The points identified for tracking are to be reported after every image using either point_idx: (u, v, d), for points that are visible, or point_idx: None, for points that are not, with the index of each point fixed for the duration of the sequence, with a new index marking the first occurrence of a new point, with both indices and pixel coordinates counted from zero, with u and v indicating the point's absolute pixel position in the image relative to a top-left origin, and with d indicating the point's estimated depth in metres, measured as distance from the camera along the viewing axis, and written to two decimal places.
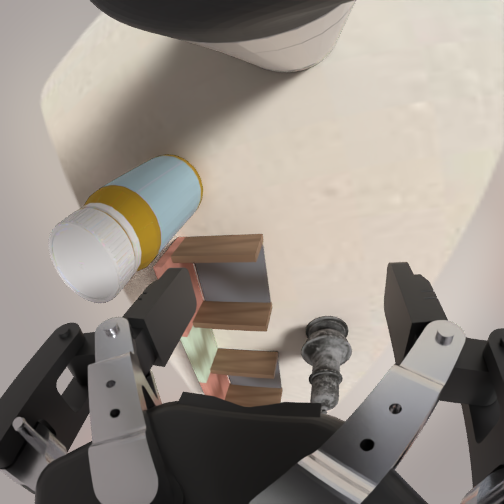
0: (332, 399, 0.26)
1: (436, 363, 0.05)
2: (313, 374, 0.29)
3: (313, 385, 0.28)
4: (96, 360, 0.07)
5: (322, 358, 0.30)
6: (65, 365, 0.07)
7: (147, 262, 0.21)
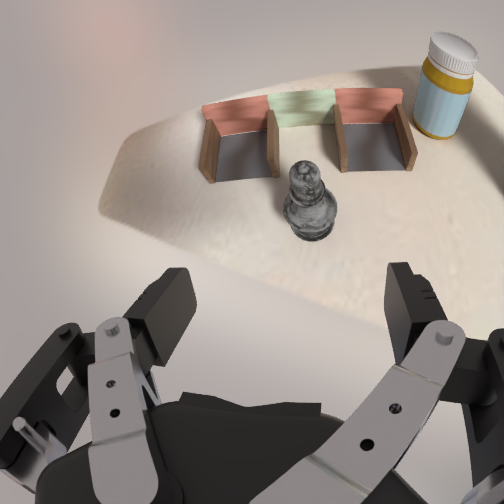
0: (315, 178, 0.25)
1: (436, 363, 0.05)
2: None
3: None
4: (96, 359, 0.07)
5: None
6: (65, 365, 0.07)
7: (440, 79, 0.25)
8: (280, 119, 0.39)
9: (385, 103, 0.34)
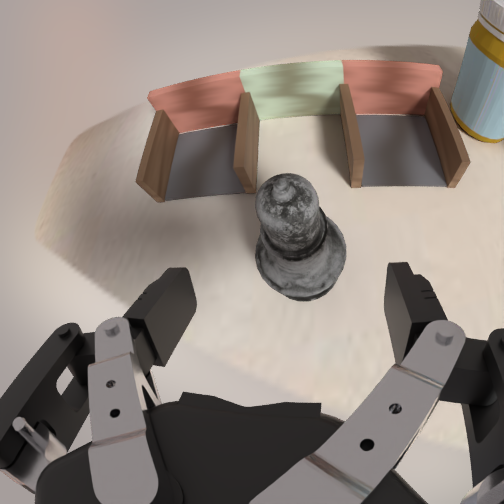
0: (308, 213, 0.12)
1: (436, 363, 0.05)
2: None
3: None
4: (96, 359, 0.07)
5: None
6: (65, 365, 0.07)
7: (500, 52, 0.12)
8: (261, 107, 0.26)
9: (416, 86, 0.21)
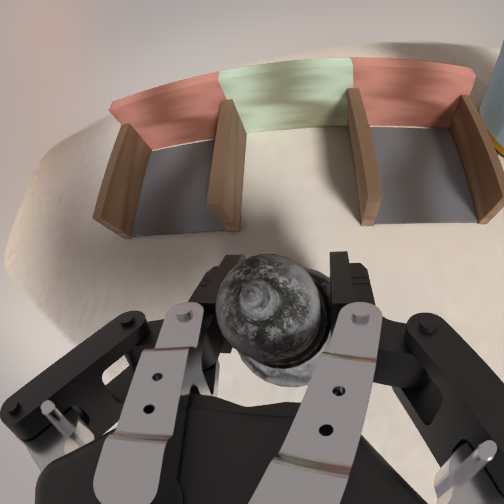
0: (301, 335, 0.07)
1: (361, 341, 0.07)
2: None
3: None
4: (157, 343, 0.08)
5: None
6: (118, 357, 0.08)
7: None
8: (247, 117, 0.21)
9: (443, 92, 0.16)
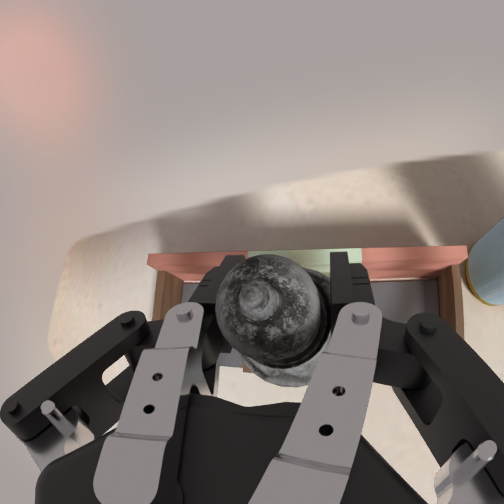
0: (300, 335, 0.07)
1: (361, 342, 0.07)
2: None
3: None
4: (157, 343, 0.08)
5: None
6: (118, 357, 0.08)
7: None
8: None
9: (436, 265, 0.22)
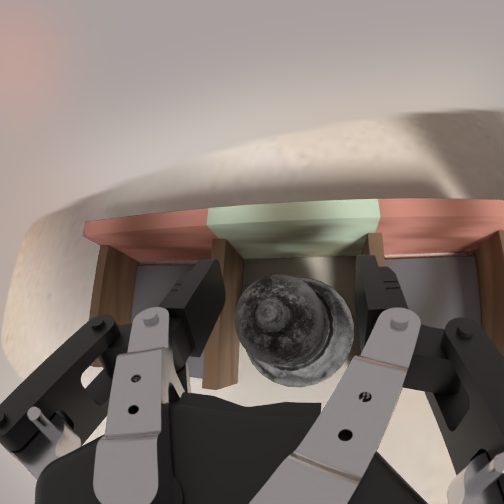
0: (308, 343, 0.08)
1: (396, 348, 0.06)
2: (315, 293, 0.12)
3: None
4: (129, 349, 0.07)
5: None
6: (93, 359, 0.08)
7: None
8: (245, 250, 0.19)
9: (479, 230, 0.14)
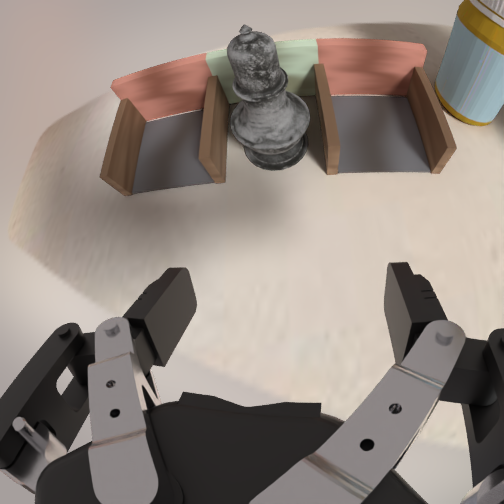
0: (267, 48, 0.13)
1: (436, 363, 0.05)
2: None
3: None
4: (96, 359, 0.07)
5: (285, 93, 0.18)
6: (65, 365, 0.07)
7: (491, 33, 0.11)
8: (230, 90, 0.24)
9: (398, 65, 0.19)
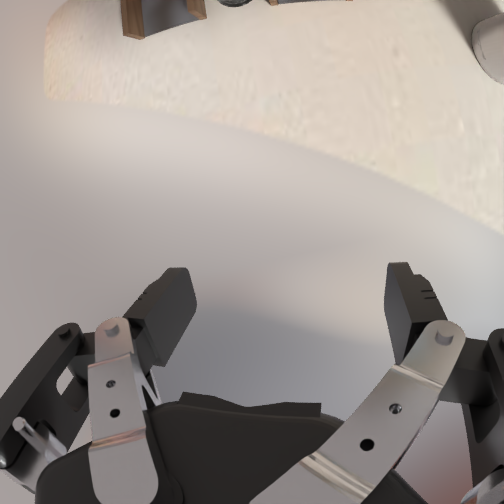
0: None
1: (436, 363, 0.05)
2: None
3: None
4: (96, 359, 0.07)
5: None
6: (65, 365, 0.07)
7: None
8: None
9: None
